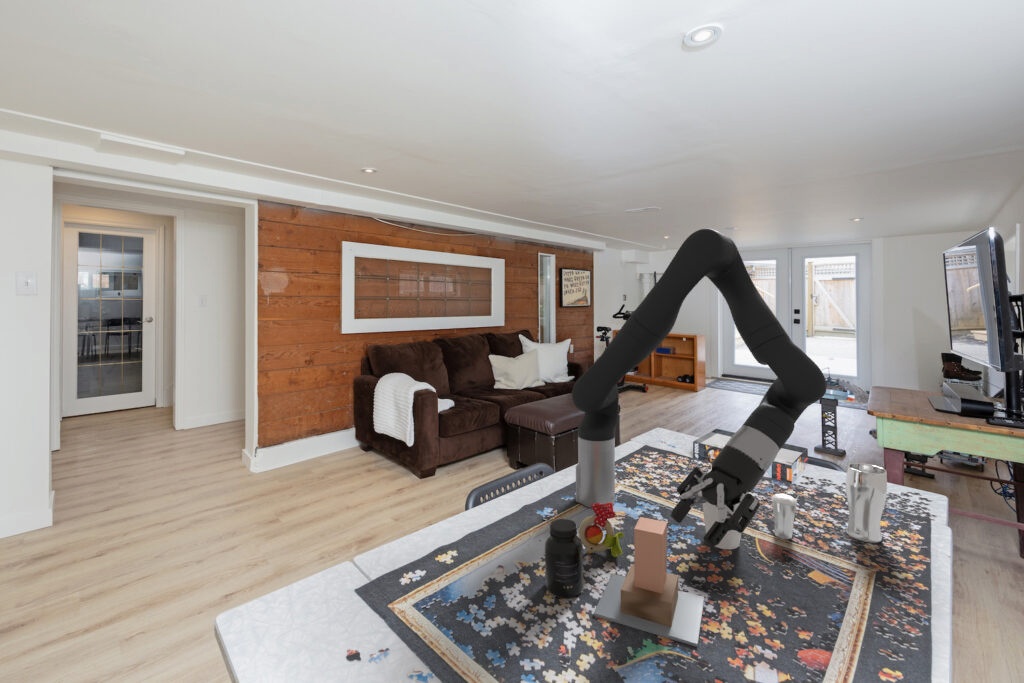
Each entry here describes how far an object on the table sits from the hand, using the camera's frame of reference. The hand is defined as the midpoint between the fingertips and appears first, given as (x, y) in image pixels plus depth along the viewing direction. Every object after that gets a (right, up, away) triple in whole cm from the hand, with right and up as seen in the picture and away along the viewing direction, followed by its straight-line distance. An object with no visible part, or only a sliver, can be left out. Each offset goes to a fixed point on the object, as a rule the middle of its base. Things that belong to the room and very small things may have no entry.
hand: (690, 531), depth 79 cm
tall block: (-7, -8, -2) cm, 11 cm away
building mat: (-7, -12, -1) cm, 14 cm away
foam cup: (+14, -10, +19) cm, 26 cm away
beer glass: (+45, -9, +20) cm, 50 cm away
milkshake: (+29, -10, +21) cm, 37 cm away
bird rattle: (-12, -11, +16) cm, 23 cm away
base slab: (-7, -12, -1) cm, 14 cm away
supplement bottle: (-21, -12, +5) cm, 25 cm away
